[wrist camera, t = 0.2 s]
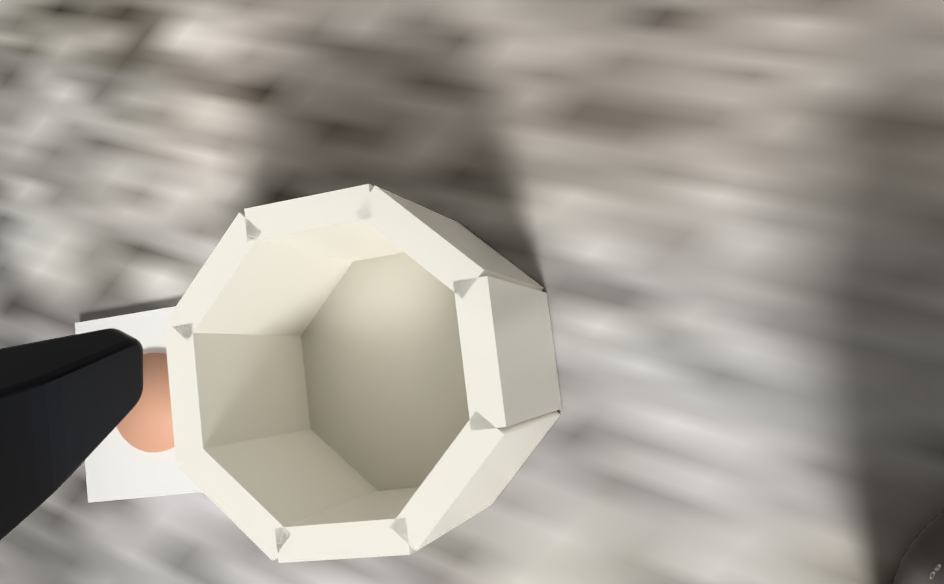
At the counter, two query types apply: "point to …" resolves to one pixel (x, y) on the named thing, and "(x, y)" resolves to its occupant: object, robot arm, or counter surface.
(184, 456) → the cup
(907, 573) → the supplement bottle
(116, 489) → the tile
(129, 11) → the counter surface
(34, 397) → the robot arm
